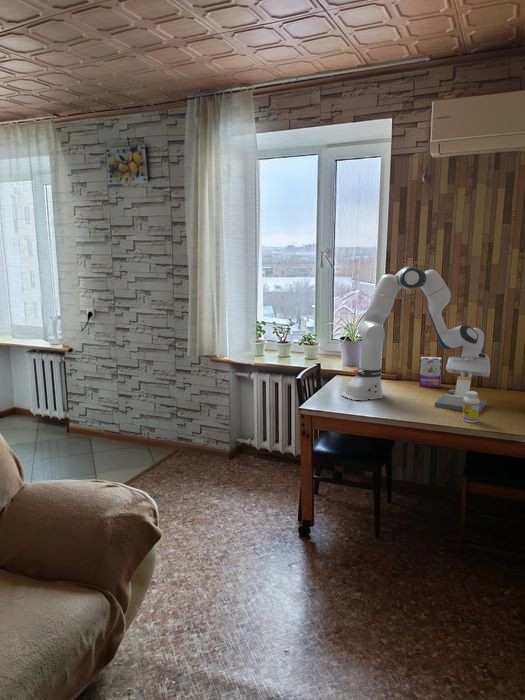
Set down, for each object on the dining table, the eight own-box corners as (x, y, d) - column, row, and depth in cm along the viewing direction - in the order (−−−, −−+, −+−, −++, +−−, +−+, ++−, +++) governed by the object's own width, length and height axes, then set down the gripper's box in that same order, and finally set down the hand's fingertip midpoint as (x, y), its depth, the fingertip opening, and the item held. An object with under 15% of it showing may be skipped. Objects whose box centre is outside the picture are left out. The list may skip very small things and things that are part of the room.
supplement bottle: (459, 418, 222) (460, 390, 220) (473, 418, 223) (475, 390, 220) (466, 423, 215) (468, 394, 213) (481, 422, 216) (483, 394, 214)
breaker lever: (466, 401, 238) (470, 377, 240) (453, 399, 241) (457, 375, 243) (467, 401, 239) (471, 378, 241) (454, 399, 243) (458, 376, 245)
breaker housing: (478, 413, 229) (479, 398, 228) (434, 406, 240) (435, 392, 239) (486, 405, 242) (487, 391, 240) (443, 398, 253) (444, 385, 252)
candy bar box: (440, 386, 278) (442, 357, 275) (440, 388, 274) (441, 359, 271) (419, 384, 283) (421, 356, 280) (418, 386, 278) (420, 357, 275)
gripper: (448, 352, 253) (442, 374, 247) (491, 355, 242) (486, 379, 236) (449, 359, 257) (444, 381, 251) (492, 362, 246) (487, 386, 240)
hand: (465, 380), depth 243 cm, fingers closed, pressing on breaker lever
